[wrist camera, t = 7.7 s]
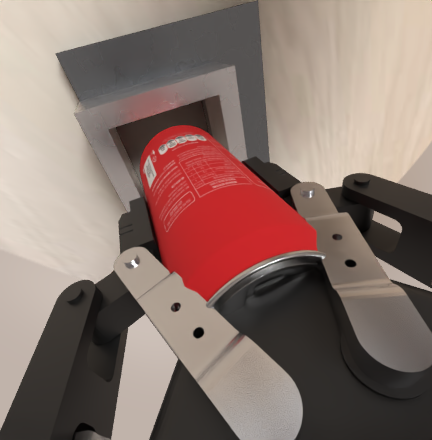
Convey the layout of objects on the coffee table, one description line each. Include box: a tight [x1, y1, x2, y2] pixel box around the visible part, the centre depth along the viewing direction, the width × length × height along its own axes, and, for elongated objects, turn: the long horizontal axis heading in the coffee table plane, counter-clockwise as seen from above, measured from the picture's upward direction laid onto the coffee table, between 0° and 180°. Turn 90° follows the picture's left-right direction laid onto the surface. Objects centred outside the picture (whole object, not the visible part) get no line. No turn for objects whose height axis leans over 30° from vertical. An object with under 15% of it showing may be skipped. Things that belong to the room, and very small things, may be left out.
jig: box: [56, 0, 270, 212], centre depth 18 cm, size 12×14×4 cm
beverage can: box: [140, 125, 326, 317], centre depth 12 cm, size 5×5×12 cm
